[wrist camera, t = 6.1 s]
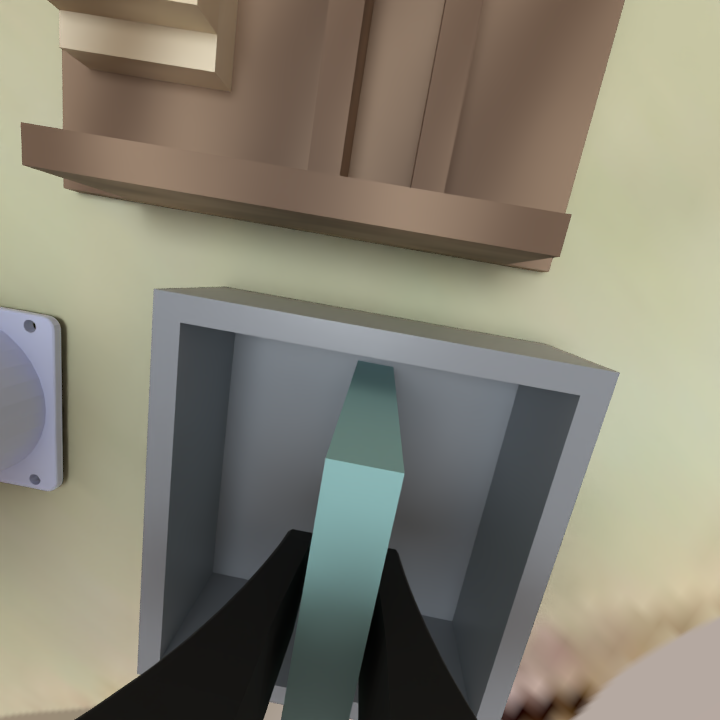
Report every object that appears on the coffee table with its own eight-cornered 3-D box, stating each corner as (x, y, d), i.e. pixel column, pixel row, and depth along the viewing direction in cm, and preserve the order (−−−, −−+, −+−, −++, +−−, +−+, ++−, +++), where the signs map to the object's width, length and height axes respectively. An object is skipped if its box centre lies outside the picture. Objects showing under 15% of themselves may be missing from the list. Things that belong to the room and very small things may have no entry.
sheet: (319, 573, 16) (260, 840, 9) (358, 360, 14) (325, 458, 6) (350, 579, 16) (318, 853, 8) (393, 366, 14) (404, 473, 6)
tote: (199, 575, 17) (137, 673, 13) (224, 286, 14) (153, 288, 10) (463, 628, 17) (490, 749, 13) (546, 344, 14) (619, 372, 10)
